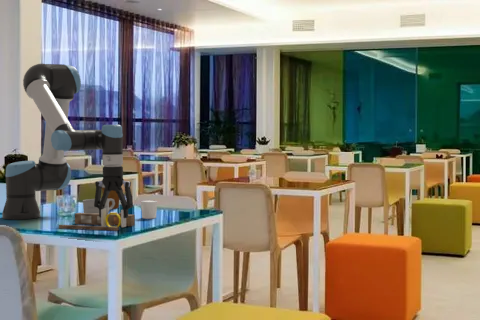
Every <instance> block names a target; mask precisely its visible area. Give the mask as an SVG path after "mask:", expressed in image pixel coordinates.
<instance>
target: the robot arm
mask: <svg viewBox="0 0 480 320" xmlns="http://www.w3.org/2000/svg"><path fill="white" fill-rule="evenodd" d="M81 80H82V79H81V76H80V73H79V71H78V69H77V68H76V67H75V66H72V65H70V64H69V65H67V64H58V63H57V64H56V63H55V64H54V63H36V64H34V65H31V66H30V67H29V68H28V69H27V70H26V72H25V73H24V75H23V79H22V82H23V83H22V84H23V85H22V86H23V89H24V92H25V94H26V95H27V96H28V97H29V98H30V99H32V100H33V102H34V104H35V106H36V107H37V109H38V110H39V112H40V114H41V115H42V117H43V119H44V121H45V132H44V142H43V144H44V145H43V150H42V155H41V156H39V157H38V162H37V163H36V162H35V160H22V161H15V162H12V163H9V164H7V165H6V167H5V189H6V190H5V191H6V192H5V195H6V200H5V204H4V206H3V210H2V213H1V217H2V219H3V220H17V221H18V220H31V219H37V218H40V217H41V211H40V207H39V205H38V201H37V199H36V195H37V194H36V192H44V191H45V192H46V191H57V190H63V189H65V188H66V187H67V186H68V185H69V183H70V182H71V176H72V170H71V169H72V168H71V166H70V164H69V163H68V160H67V159H66V158H65V152H68V151H88V150H89V151H93V150H96V151H98V150H102V154H101V155H102V165H103V166H102V180H98V181H95V182H94V183H95V196H94V199H95V202H94V207H97V208H98V209H99V217H101V225H100V226H104V227H107V225H106V222H105V221H106V209H104V208H105V207H104V206H105V204H106V201H107V198H108V195H109V193H110V191H111V190H113V191H116V193H117V194H118V197H119V203H120V204H121V207H122V209H121V210H120V213H121V226H120V227H121V228H126V227H127V226H126V218H128V214H129V209H132V208H134V207H133V206H134V204H133V203H134V202H133V197H132V189H131V184H132V182H131V181H128V180H124V167H123V166H122V165H123V164H124V159H123V158H124V155H123V150H124V148H123V147H124V145H123V144H124V143H123V139H124V137H123V136H124V134H123V127H122V125H120V124H103V125H102V126H101V129H82V130H81V129H74V127H73V126H72V124H71V123H70V121H69V119H68V118H69V109H70V102H71V101H73V100H74V97H75V95H76V94H77V93H79V92H80V90H81V86H82V81H81ZM103 184H104V186H105V188H104V193H102V185H103ZM122 186H123V187H122ZM123 188H124V190H123ZM123 191H124V192H123ZM100 200H101V201H100Z"/></svg>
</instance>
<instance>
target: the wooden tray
mask: <svg viewBox="0 0 480 320" xmlns="http://www.w3.org/2000/svg"><path fill="white" fill-rule="evenodd" d="M108 214H109V213H108ZM108 214H106V217H107V215H108ZM117 214H119V215H120V217H121V212H119V213H118V212H117ZM135 219H136V218H135V214H129V213H128V218H126V227H133V226H135V225H136V224H135ZM108 223H109V225H110V226H111V227H108V226H101V217H99V213H84V212H76V213H74V225H73V224H58V229H67V230H69V229H70V230H90V231H91V230H92V231H93V230H94V231H115V232H117V231H119V227H121V225H120V226H119V227H117V226H118V224H119V218H118V217H117V216H116V215H112V214H111V215H109V217H108Z"/></svg>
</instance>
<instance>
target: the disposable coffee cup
mask: <svg viewBox="0 0 480 320" xmlns="http://www.w3.org/2000/svg"><path fill="white" fill-rule="evenodd" d="M104 188H105V186H104V184H103V185H102V191H101V194H103V193H104ZM110 198H111V199H114V201H115V206H114V207H113V208H112V209H111V210H115V209H119V205H120V200H119V197H118V194H117V193H116V191H113V190H111V191H110V193H109V195H108V199H110ZM111 206H112V201H110V202H109V208H110V207H111Z"/></svg>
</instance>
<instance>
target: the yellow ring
mask: <svg viewBox="0 0 480 320" xmlns="http://www.w3.org/2000/svg"><path fill="white" fill-rule="evenodd" d="M111 214H112V215H116V216H117V217H118V218H119V224H118V226H116V227H121V226H120V225H121V217H120V215H119V214H118V211H109V213H108V215H107V217H106V221H105V222H106V227H112V225H109V223H108V217H109V215H111Z"/></svg>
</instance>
